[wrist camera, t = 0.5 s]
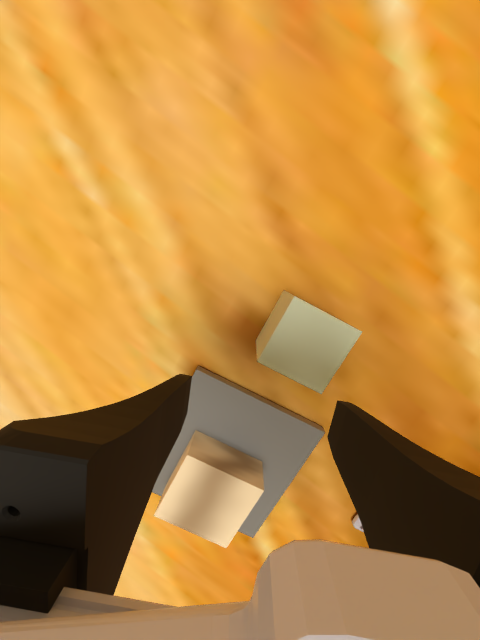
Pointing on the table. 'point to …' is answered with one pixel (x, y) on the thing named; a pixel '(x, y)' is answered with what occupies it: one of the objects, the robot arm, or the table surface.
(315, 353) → the sage block
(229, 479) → the birch plinth
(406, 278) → the table surface
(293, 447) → the gray board
